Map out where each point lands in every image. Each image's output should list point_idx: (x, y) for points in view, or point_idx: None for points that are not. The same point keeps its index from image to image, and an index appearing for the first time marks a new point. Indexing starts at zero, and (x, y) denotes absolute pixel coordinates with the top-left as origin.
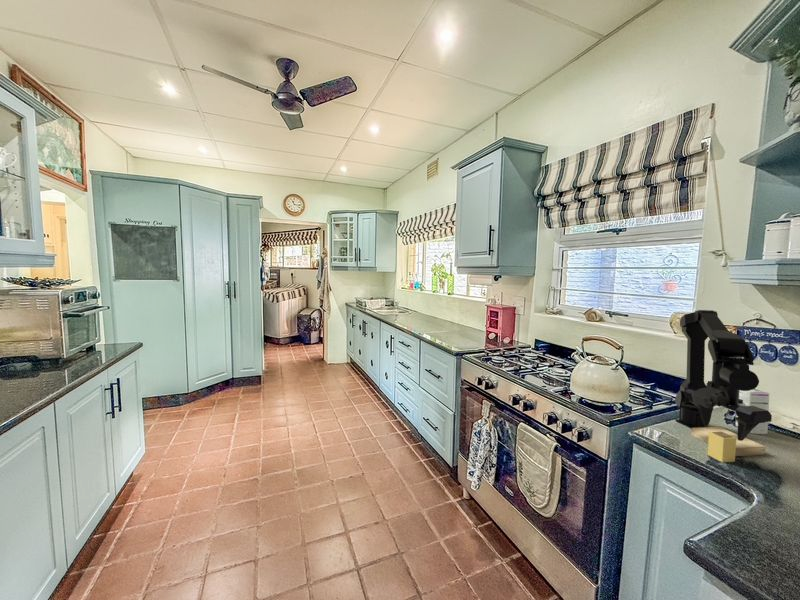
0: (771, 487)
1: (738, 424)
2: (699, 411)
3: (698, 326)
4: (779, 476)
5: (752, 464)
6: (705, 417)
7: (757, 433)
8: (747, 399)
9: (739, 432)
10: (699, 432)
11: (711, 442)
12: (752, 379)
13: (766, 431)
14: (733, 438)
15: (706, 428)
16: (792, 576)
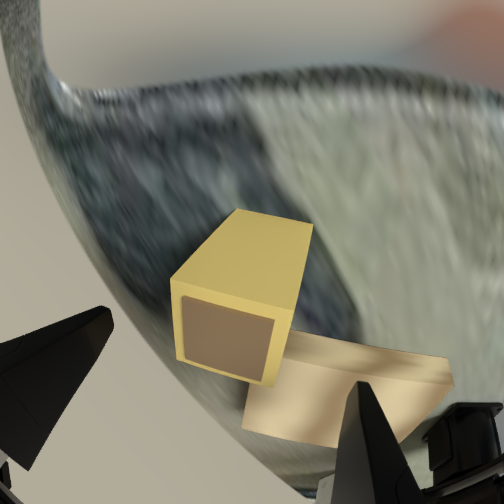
0: (82, 187)
1: (1, 366)
2: (409, 487)
3: None
4: (133, 294)
5: None
6: (357, 449)
7: (331, 475)
8: None
9: (52, 332)
10: (421, 378)
11: (282, 260)
12: None
13: (319, 485)
14: (176, 343)
15: (412, 422)
16: None
